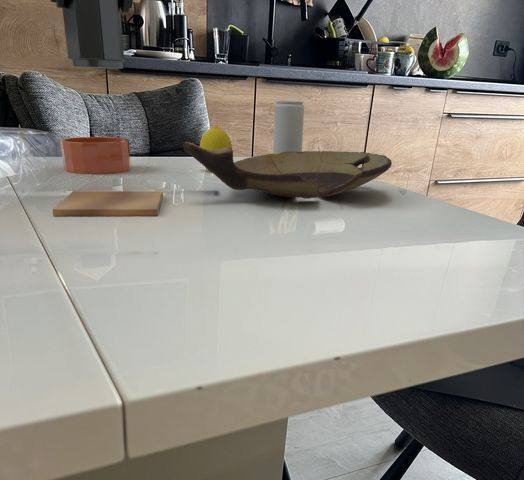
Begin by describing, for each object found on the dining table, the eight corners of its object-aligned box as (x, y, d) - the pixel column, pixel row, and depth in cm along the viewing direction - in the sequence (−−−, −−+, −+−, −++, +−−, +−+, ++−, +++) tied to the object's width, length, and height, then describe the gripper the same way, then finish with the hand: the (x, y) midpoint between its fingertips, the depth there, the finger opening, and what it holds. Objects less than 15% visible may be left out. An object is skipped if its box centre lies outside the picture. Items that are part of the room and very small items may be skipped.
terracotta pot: (58, 178, 88) (53, 142, 85) (72, 169, 97) (68, 136, 95) (127, 179, 89) (124, 143, 87) (134, 169, 99) (131, 137, 96)
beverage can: (269, 178, 92) (271, 100, 87) (275, 174, 97) (278, 100, 91) (297, 180, 91) (301, 101, 86) (302, 176, 96) (306, 101, 90)
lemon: (196, 173, 96) (195, 124, 92) (226, 172, 98) (226, 124, 94) (205, 178, 91) (203, 127, 88) (236, 177, 93) (236, 126, 90)
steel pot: (65, 66, 63) (52, -40, 58) (75, 67, 68) (65, -29, 64) (120, 67, 63) (112, -37, 59) (126, 68, 69) (119, -27, 64)
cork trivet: (53, 216, 64) (52, 209, 63) (73, 197, 74) (73, 191, 74) (157, 215, 65) (156, 209, 65) (163, 197, 76) (162, 191, 75)
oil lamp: (417, 209, 71) (426, 147, 68) (185, 211, 68) (182, 145, 64) (365, 182, 91) (370, 132, 88) (184, 182, 87) (182, 130, 84)
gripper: (-4, -149, 60) (24, -36, 55) (127, -125, 66) (162, -21, 61) (2, -77, 66) (27, 28, 62) (120, -62, 72) (151, 36, 68)
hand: (94, 3), depth 62 cm, fingers closed on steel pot, 6 cm apart
